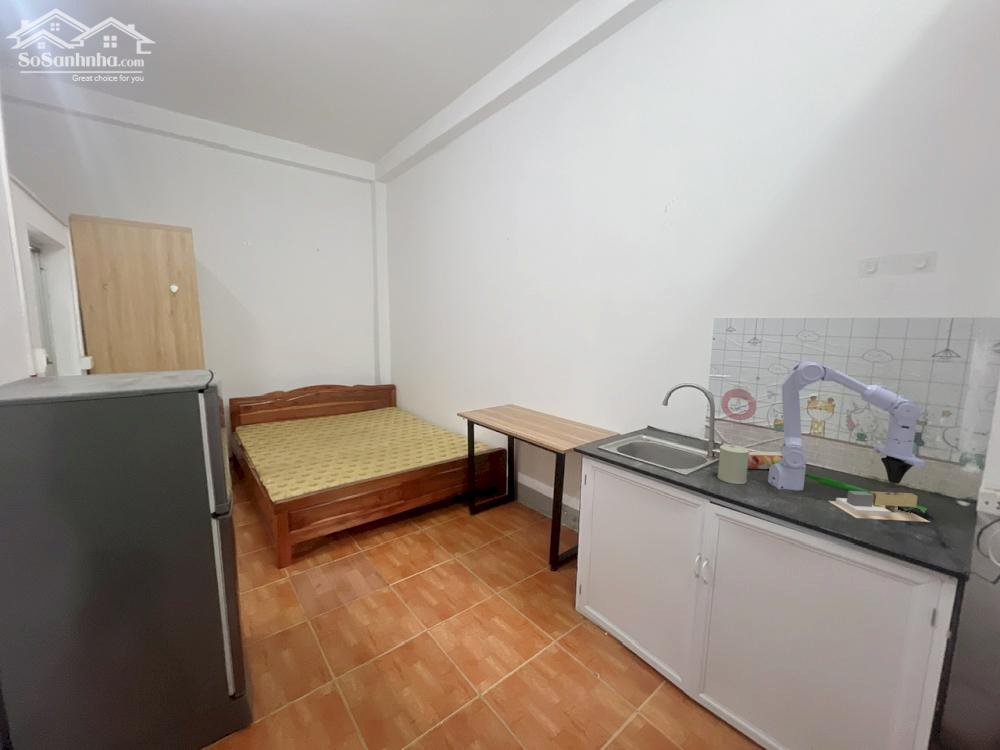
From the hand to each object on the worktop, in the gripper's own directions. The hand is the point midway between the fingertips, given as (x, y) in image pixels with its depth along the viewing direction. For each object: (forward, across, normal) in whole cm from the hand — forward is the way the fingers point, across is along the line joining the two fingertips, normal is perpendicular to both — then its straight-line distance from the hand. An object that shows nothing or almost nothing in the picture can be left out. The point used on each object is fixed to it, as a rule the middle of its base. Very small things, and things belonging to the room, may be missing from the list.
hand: (894, 482), depth 119 cm
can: (+9, +19, +38) cm, 43 cm away
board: (+8, -6, +8) cm, 13 cm away
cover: (+7, -5, +12) cm, 15 cm away
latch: (+5, -5, +4) cm, 8 cm away
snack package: (+9, +33, +22) cm, 41 cm away
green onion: (+9, +8, +3) cm, 12 cm away
